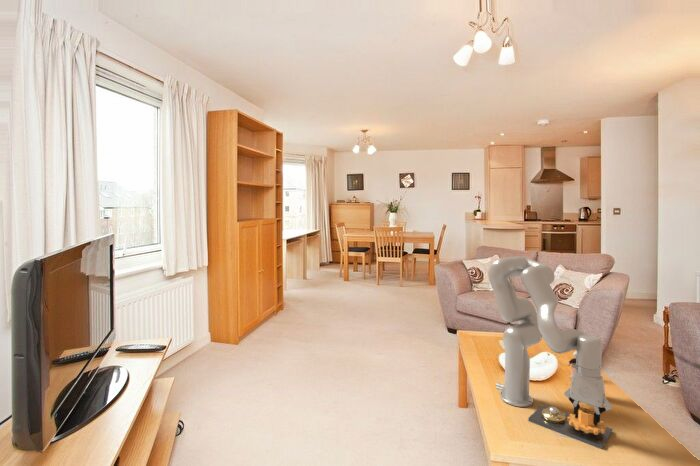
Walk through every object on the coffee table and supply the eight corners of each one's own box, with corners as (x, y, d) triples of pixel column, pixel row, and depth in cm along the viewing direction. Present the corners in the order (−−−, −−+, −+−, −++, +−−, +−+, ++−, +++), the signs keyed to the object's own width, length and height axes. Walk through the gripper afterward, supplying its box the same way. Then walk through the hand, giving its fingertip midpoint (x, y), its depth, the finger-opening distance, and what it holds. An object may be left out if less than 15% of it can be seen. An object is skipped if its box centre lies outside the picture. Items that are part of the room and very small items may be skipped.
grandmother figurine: (568, 378, 181) (569, 352, 180) (566, 375, 185) (567, 349, 184) (587, 380, 179) (588, 353, 179) (584, 377, 183) (585, 350, 182)
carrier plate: (528, 420, 146) (528, 402, 145) (542, 407, 155) (542, 390, 155) (602, 449, 128) (602, 428, 128) (612, 432, 138) (613, 412, 137)
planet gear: (563, 424, 138) (563, 410, 138) (573, 412, 146) (573, 399, 146) (600, 438, 129) (601, 423, 129) (609, 425, 137) (610, 411, 137)
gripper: (558, 366, 140) (557, 414, 141) (614, 381, 128) (612, 434, 129) (565, 360, 145) (564, 407, 146) (619, 374, 133) (617, 425, 134)
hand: (586, 419), depth 138 cm, fingers closed on planet gear, 5 cm apart
